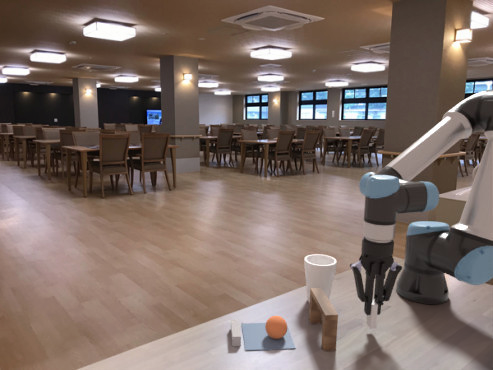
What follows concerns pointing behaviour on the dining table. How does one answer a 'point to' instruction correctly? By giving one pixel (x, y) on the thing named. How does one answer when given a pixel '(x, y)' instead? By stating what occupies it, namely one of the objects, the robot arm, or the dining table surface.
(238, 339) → the beige rectangular bar
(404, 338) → the dining table surface
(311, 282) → the foam cup
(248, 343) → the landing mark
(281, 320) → the ball
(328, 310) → the bridge
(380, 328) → the dining table surface
